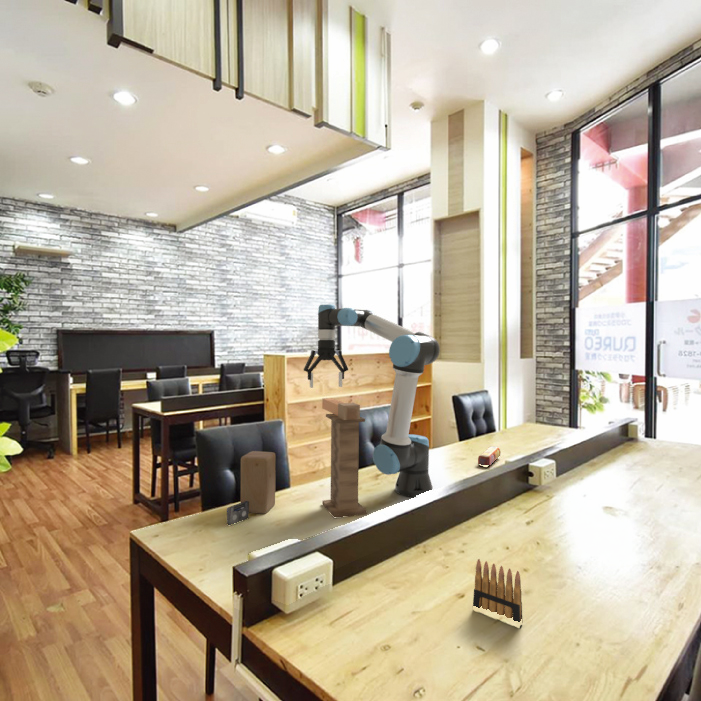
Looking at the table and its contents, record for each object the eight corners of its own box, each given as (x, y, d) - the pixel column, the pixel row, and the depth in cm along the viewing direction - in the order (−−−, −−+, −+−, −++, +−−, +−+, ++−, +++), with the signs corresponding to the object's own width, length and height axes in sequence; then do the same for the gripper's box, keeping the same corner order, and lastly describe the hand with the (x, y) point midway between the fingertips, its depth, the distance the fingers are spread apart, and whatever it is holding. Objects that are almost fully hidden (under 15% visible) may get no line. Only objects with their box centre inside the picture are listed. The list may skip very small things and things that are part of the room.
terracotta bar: (319, 408, 185) (320, 396, 184) (333, 407, 187) (334, 395, 187) (343, 420, 158) (343, 405, 158) (359, 419, 161) (359, 404, 160)
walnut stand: (322, 504, 171) (323, 414, 170) (352, 500, 175) (353, 412, 175) (334, 518, 158) (335, 420, 157) (366, 514, 162) (367, 418, 162)
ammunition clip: (472, 610, 105) (473, 559, 104) (475, 607, 106) (476, 556, 106) (519, 629, 98) (521, 574, 98) (522, 625, 100) (523, 570, 99)
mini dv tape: (245, 517, 158) (245, 500, 158) (248, 518, 157) (248, 501, 157) (226, 525, 152) (226, 507, 151) (229, 526, 151) (229, 508, 151)
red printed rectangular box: (490, 469, 222) (490, 455, 222) (476, 467, 226) (476, 453, 226) (500, 459, 240) (500, 446, 240) (488, 457, 244) (488, 445, 244)
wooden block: (265, 515, 160) (266, 458, 160) (239, 512, 162) (239, 456, 162) (276, 505, 170) (276, 451, 170) (250, 502, 172) (251, 450, 172)
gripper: (349, 339, 212) (349, 385, 212) (297, 339, 203) (296, 386, 203) (355, 339, 205) (355, 387, 205) (301, 339, 196) (301, 388, 196)
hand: (326, 387), depth 204 cm, fingers open, 13 cm apart
